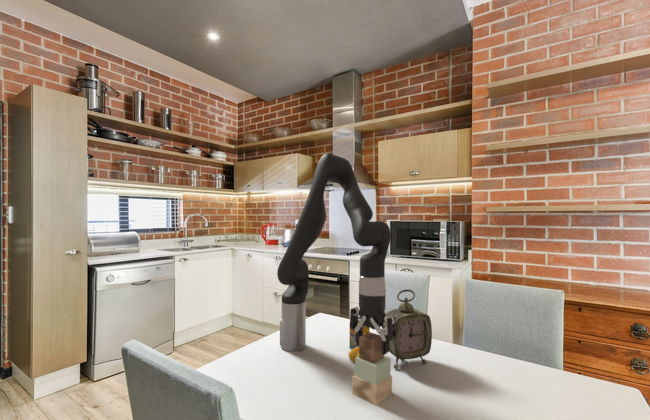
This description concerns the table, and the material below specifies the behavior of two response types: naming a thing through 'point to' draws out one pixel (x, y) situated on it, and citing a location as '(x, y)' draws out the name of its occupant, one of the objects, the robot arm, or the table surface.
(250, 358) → the table surface
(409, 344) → the tabletop clock
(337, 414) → the table surface
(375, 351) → the walnut block
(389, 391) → the oak block
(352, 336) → the crayon box
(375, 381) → the sage block
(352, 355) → the bread roll
